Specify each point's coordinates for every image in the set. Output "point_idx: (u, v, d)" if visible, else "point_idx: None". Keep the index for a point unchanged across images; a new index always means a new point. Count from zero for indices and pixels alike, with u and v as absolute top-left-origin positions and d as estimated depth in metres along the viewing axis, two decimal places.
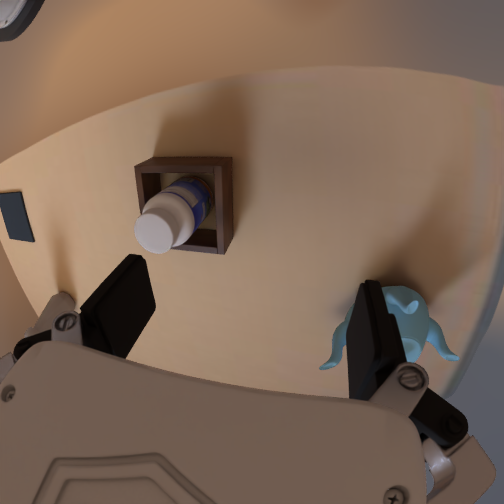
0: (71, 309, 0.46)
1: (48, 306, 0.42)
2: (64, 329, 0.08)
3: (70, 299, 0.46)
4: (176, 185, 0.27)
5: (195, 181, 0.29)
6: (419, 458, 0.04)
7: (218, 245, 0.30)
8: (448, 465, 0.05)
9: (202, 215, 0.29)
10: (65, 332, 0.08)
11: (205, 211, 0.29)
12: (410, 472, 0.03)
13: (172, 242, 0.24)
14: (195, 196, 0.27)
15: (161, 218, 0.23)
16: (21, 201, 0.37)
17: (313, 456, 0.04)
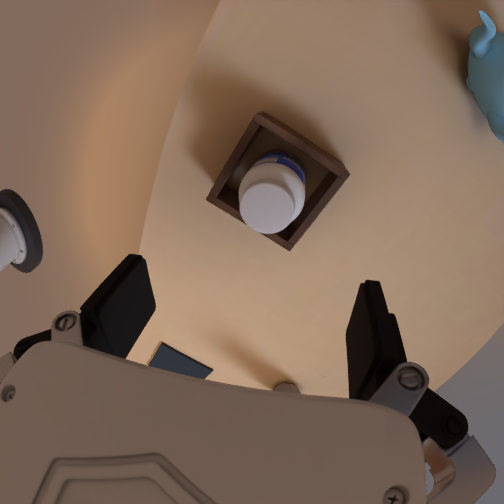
0: (295, 392, 0.44)
1: None
2: (64, 329, 0.08)
3: (287, 385, 0.45)
4: None
5: (262, 156, 0.26)
6: (419, 458, 0.04)
7: (336, 172, 0.23)
8: (448, 465, 0.05)
9: (295, 165, 0.24)
10: (65, 332, 0.08)
11: (294, 162, 0.24)
12: (410, 472, 0.03)
13: (288, 194, 0.19)
14: (271, 157, 0.24)
15: (255, 185, 0.19)
16: (170, 349, 0.46)
17: (313, 456, 0.04)
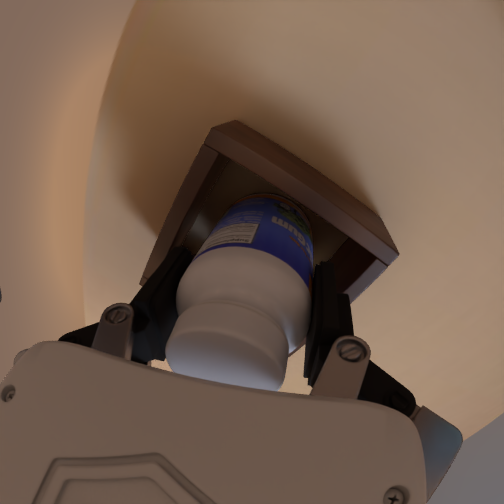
0: None
1: None
2: (114, 321, 0.09)
3: None
4: None
5: (233, 206, 0.15)
6: (419, 458, 0.04)
7: (374, 252, 0.12)
8: None
9: (294, 237, 0.12)
10: (113, 325, 0.08)
11: (292, 226, 0.13)
12: (410, 472, 0.03)
13: (270, 353, 0.08)
14: (245, 222, 0.12)
15: (190, 330, 0.08)
16: None
17: (313, 456, 0.04)
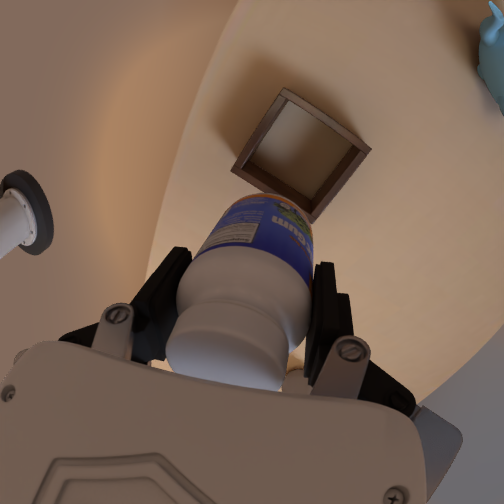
0: None
1: None
2: (114, 321, 0.09)
3: (300, 371, 0.45)
4: None
5: (233, 206, 0.15)
6: (419, 458, 0.04)
7: (359, 147, 0.23)
8: None
9: (294, 236, 0.12)
10: (113, 325, 0.08)
11: (292, 226, 0.13)
12: (410, 472, 0.03)
13: (271, 353, 0.08)
14: (245, 221, 0.12)
15: (191, 330, 0.08)
16: None
17: (313, 456, 0.04)
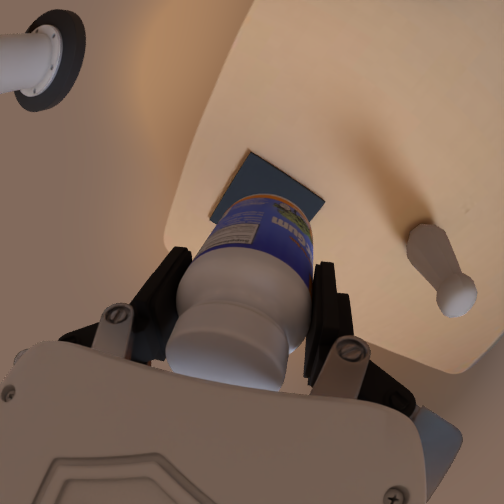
0: (442, 229, 0.28)
1: (422, 249, 0.27)
2: (114, 321, 0.09)
3: None
4: None
5: (233, 207, 0.14)
6: (419, 458, 0.04)
7: None
8: None
9: (294, 237, 0.12)
10: (113, 325, 0.08)
11: (292, 226, 0.13)
12: (410, 472, 0.03)
13: (270, 354, 0.08)
14: (245, 222, 0.12)
15: (190, 331, 0.08)
16: (262, 162, 0.30)
17: (313, 456, 0.04)
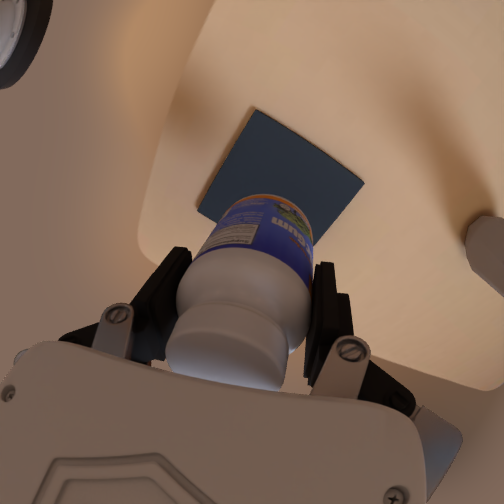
0: None
1: (494, 250, 0.16)
2: (114, 321, 0.09)
3: None
4: None
5: (233, 207, 0.15)
6: (419, 458, 0.04)
7: None
8: None
9: (294, 237, 0.12)
10: (114, 325, 0.08)
11: (292, 227, 0.13)
12: (410, 472, 0.03)
13: (270, 354, 0.08)
14: (244, 223, 0.12)
15: (190, 332, 0.08)
16: (274, 124, 0.20)
17: (313, 456, 0.04)
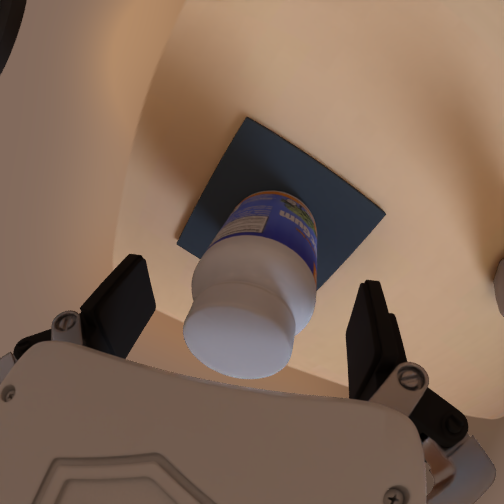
0: None
1: None
2: (64, 329, 0.08)
3: None
4: None
5: (243, 202, 0.16)
6: (419, 458, 0.04)
7: None
8: (448, 465, 0.05)
9: (300, 229, 0.13)
10: (65, 332, 0.08)
11: (298, 219, 0.14)
12: (410, 472, 0.03)
13: (279, 327, 0.09)
14: (255, 215, 0.13)
15: (208, 306, 0.09)
16: (270, 136, 0.15)
17: (313, 456, 0.04)
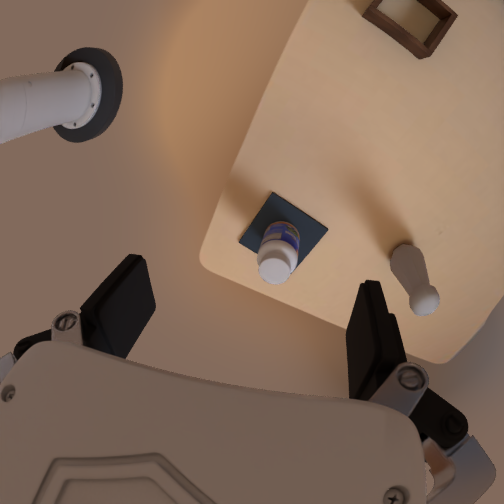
0: None
1: (401, 265, 0.37)
2: (64, 329, 0.08)
3: None
4: (263, 239, 0.40)
5: (271, 226, 0.41)
6: (419, 458, 0.04)
7: (450, 12, 0.18)
8: (448, 465, 0.05)
9: (292, 237, 0.39)
10: (65, 332, 0.08)
11: (291, 233, 0.40)
12: (410, 472, 0.03)
13: (286, 264, 0.35)
14: (277, 232, 0.39)
15: (268, 259, 0.35)
16: (281, 200, 0.41)
17: (313, 456, 0.04)
